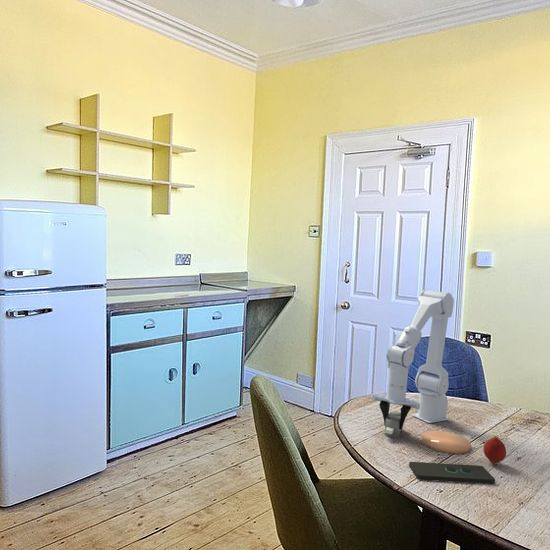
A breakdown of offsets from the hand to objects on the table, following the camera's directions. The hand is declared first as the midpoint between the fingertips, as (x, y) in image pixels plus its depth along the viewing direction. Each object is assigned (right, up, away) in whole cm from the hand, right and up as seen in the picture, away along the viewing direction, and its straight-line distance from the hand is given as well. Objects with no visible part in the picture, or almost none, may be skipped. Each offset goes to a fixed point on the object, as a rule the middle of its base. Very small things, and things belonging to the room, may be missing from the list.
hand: (393, 426), depth 160 cm
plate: (+14, -3, -6) cm, 16 cm away
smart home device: (+9, -5, -27) cm, 29 cm away
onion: (+24, -5, -18) cm, 30 cm away
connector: (-1, -2, -1) cm, 2 cm away
